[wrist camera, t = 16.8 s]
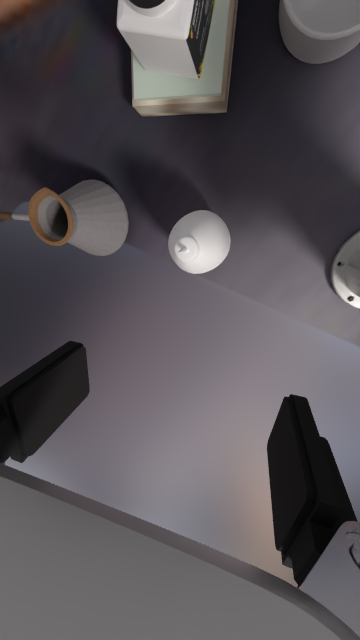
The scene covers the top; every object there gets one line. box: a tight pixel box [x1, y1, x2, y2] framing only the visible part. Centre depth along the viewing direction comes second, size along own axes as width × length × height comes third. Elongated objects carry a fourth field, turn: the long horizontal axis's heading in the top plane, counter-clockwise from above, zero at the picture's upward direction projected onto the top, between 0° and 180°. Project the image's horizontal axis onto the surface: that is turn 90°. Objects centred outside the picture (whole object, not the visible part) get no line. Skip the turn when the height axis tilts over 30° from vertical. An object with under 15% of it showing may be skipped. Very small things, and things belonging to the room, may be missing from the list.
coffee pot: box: [0, 179, 129, 256], centre depth 34 cm, size 21×12×15 cm, turn 87°
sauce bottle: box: [168, 210, 231, 274], centre depth 29 cm, size 8×8×18 cm
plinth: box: [131, 0, 238, 117], centre depth 27 cm, size 12×12×4 cm
